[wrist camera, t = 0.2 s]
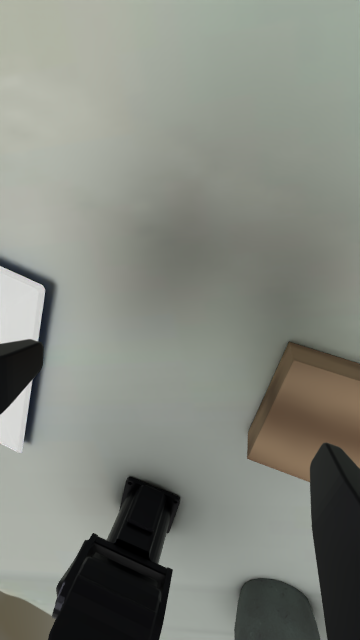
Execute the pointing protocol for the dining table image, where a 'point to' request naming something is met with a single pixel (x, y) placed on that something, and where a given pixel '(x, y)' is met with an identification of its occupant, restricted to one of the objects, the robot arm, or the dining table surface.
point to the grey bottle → (273, 613)
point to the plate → (14, 325)
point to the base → (307, 411)
